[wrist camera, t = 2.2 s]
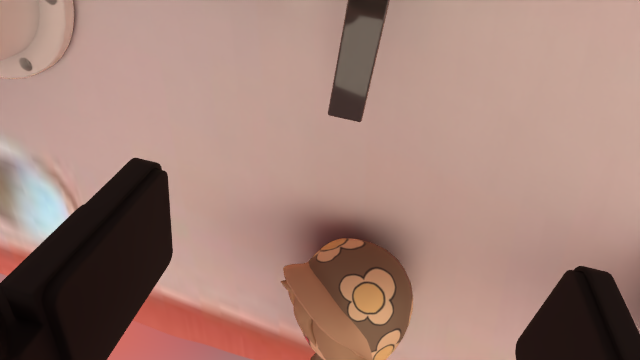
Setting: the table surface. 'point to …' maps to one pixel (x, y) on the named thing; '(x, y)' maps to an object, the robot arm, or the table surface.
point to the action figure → (351, 300)
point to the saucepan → (357, 57)
